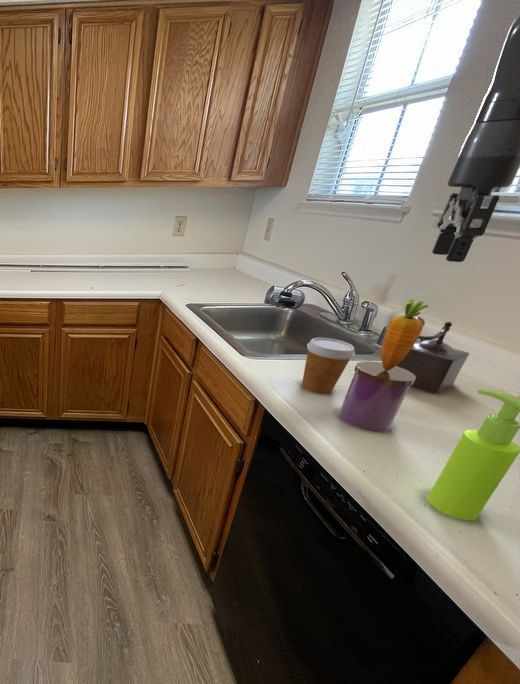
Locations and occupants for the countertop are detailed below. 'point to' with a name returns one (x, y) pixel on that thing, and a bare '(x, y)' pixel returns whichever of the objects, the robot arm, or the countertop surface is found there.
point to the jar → (375, 396)
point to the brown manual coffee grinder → (433, 362)
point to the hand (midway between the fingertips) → (446, 257)
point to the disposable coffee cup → (325, 364)
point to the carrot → (401, 335)
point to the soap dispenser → (478, 462)
